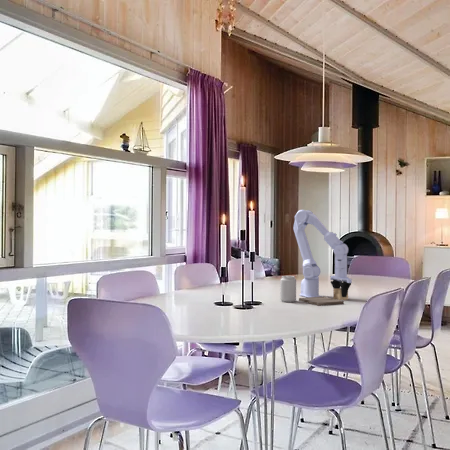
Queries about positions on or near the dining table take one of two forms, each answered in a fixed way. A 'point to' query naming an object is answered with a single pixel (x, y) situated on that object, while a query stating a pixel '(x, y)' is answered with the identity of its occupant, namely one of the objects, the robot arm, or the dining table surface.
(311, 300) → the serving board
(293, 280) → the can
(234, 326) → the dining table surface
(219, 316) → the dining table surface
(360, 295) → the dining table surface
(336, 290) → the oak block
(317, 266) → the robot arm
